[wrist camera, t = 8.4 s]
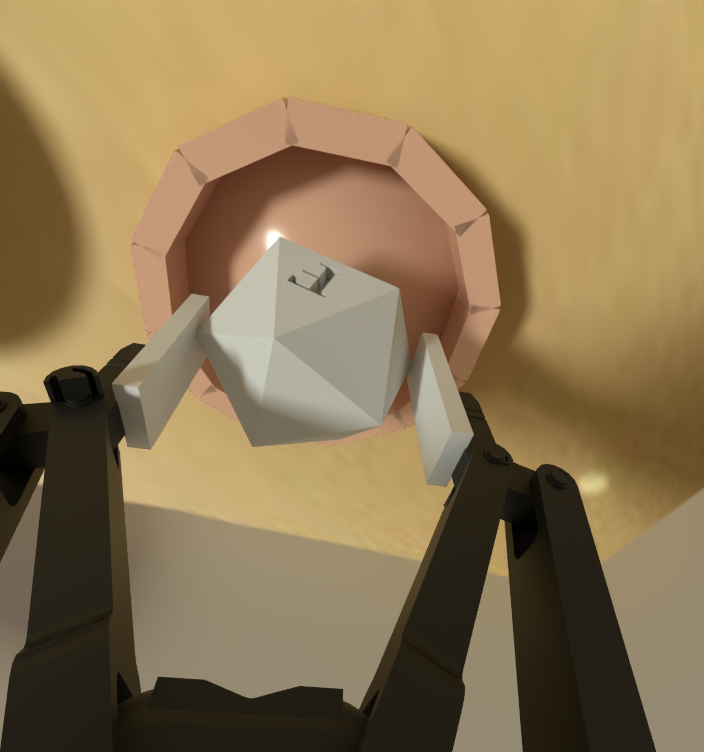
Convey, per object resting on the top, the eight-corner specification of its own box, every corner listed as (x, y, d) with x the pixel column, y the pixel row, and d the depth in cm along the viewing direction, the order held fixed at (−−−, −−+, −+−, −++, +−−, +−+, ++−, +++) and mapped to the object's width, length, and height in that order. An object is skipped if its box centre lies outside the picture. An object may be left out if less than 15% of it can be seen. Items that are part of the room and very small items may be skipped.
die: (434, 317, 21) (459, 260, 11) (367, 457, 21) (332, 525, 11) (303, 259, 22) (218, 161, 12) (242, 393, 23) (113, 404, 13)
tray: (144, 64, 16) (98, 54, 13) (534, 151, 18) (568, 159, 15) (181, 388, 26) (160, 422, 23) (424, 423, 28) (432, 458, 25)
